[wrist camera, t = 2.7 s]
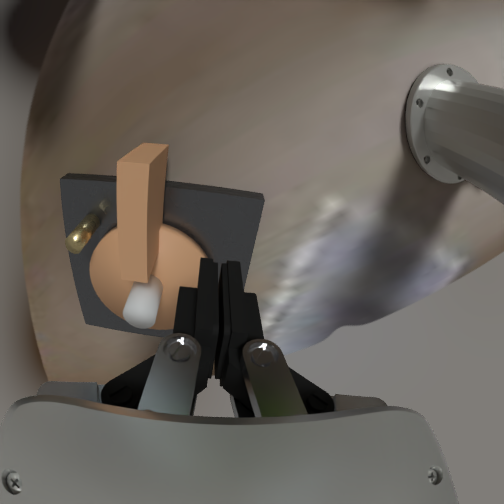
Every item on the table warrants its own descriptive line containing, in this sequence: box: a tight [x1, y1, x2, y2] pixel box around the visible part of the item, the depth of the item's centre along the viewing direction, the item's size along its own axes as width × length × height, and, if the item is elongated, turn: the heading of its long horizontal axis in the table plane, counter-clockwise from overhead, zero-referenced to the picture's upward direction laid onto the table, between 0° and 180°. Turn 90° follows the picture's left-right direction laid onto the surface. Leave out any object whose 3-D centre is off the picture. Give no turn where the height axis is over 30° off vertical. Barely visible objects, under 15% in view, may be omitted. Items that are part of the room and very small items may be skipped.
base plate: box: [60, 173, 265, 338], centre depth 24 cm, size 18×18×6 cm
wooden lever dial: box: [90, 143, 208, 330], centre depth 21 cm, size 12×18×6 cm, turn 169°
